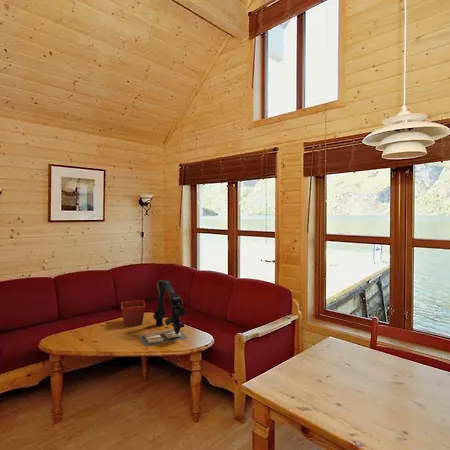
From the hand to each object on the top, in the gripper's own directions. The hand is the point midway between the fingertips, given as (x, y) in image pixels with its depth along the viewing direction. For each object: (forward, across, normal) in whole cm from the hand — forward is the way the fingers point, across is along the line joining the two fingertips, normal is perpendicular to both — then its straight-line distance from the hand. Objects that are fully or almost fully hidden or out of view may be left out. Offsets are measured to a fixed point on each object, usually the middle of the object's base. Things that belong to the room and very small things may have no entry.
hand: (176, 334), depth 242 cm
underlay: (+3, -6, -9) cm, 11 cm away
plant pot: (0, -48, -22) cm, 53 cm away
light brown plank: (+2, -12, -9) cm, 15 cm away
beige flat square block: (+2, -3, -2) cm, 4 cm away
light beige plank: (+2, -3, -16) cm, 17 cm away
